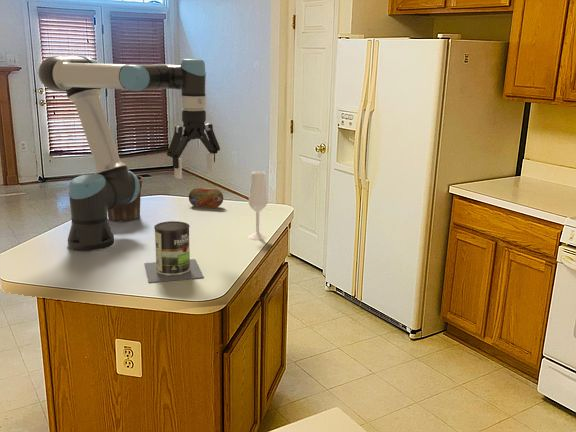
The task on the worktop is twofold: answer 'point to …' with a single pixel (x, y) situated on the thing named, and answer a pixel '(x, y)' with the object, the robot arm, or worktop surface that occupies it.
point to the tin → (206, 197)
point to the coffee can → (172, 248)
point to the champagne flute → (257, 199)
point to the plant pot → (127, 209)
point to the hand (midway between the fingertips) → (194, 175)
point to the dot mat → (157, 277)
